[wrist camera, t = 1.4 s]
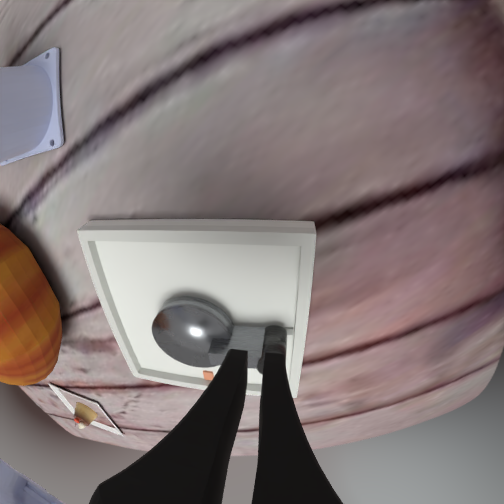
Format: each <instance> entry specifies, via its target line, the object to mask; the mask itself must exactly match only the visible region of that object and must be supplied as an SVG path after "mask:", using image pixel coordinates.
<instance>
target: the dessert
mask: <svg viewBox="0 0 504 504" xmlns="http://www.w3.org/2000/svg"><path fill="white" fill-rule="evenodd" d="M48 384H49V383H48ZM49 386H50V387H51V388H52V390H53V391H54V392H55V393H56V395H57V396H58V397H59V398H60V400H61V401H62V402H63V403H64V404H65V405H66V407H67V408H68V409H69V410H70V411H71V412H72V413H73V415H74V418H75V419H74V421H75V422H77V423H78V426H79V428H80V429H83V428H85V426H88V425H89V424H92V425H94V426H97V427H99V428H102V429H104V430H107V431H110V432H112V433H115V434H118V435H121V436H124V435H123V434H122V432H121V431H120V430H119V429H118V428H117V426H116V425H115V424H114V423H113V422H112V420H111V419H110V418H109V417H108V416H107V414H106V413H105V412H104V410H103V409H102V408H101V407H100V405H99V404H98V403H97V402H95V401H92V400H89V399H87V398H84V397H81V396H79V395H76V394H74V393H72V392H69V391H67V390H64V389H62V388H60V387H57V386H55V385H53V384H49ZM58 389H60V390H62V391H64V392H66V393H69V394H71V395H74V396H76V397H78V398H81V399H83V400H86V401H89V402H91V403H94V404H96V405H97V406H98V407H99V408H100V409H101V411H102V412H103V413H104V414H105V416H106V417H107V418H108V419H109V421H110V422H111V423H112V424H113V425H114V427H115V428H116V429H114V428H112V427H109V426H106V425H103V424H101V423H98V422H95V421H93V420H94V419H95V418H97V417H98V415H97V414H96V413H95V412H94V411H93V410H92V409H91V408H89V407H88V406H86V405H84V404H82V403H79V402H76V407H75V409H74V408H73V407H72V406H71V405H70V403H69V402H68V401H67V400H66V399H65V397H64V396H63V395H62V394H61V392H60V391H59V390H58ZM75 427H76V424H75ZM124 437H125V436H124Z"/></svg>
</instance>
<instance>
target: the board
mask: <svg viewBox="0 0 504 504" xmlns="http://www.w3.org/2000/svg"><path fill="white" fill-rule="evenodd" d="M77 233H78V237H79V240H80V244H81V247H82V251H83V254H84V257H85V260H86V263H87V266H88V269H89V272H90V275H91V278H92V281H93V284H94V287H95V289H96V292H97V295H98V298H99V300H100V303H101V305H102V308H103V310H104V313H105V315H106V318H107V320H108V322H109V325H110V327H111V330H112V332H113V334H114V336H115V339H116V341H117V343H118V345H119V347H120V349H121V352H122V354H123V356H124V358H125V360H126V362H127V364H128V366H129V368H130V370H131V372H132V374H133V376H134V377H138V378H142V379H147V380H151V381H156V382H161V383H166V384H171V385H177V386H183V387H189V388H195V389H201V390H206V388H207V387H208V385H209V384H210V382H211V381H212V379H213V378H214V376H215V374H216V373H217V371H218V370H219V368H220V365H218V366H215V367H209V368H200V367H193V366H189V365H186V364H183V363H181V362H179V361H177V360H175V359H173V358H171V357H170V356H169V355H167V354H166V353H165V352H164V351H163V350H162V349H161V348H160V347H159V346H158V344H157V343H156V341H155V340H154V337H153V334H152V323H153V321H154V319H155V317H156V315H157V314H158V312H159V310H160V308H161V307H162V305H163V304H164V303H165V302H166V301H168V300H170V299H172V298H175V297H179V296H192V297H197V298H201V299H204V300H207V301H209V302H211V303H213V304H215V305H216V306H218V307H219V308H221V309H222V310H223V311H224V312H225V313H226V314H227V315H228V316H229V317H230V319H231V320H232V322H233V324H234V326H245V327H261V328H266V327H267V326H270V325H278V326H281V327H283V328H284V329H285V330H286V331H287V351H286V371H287V377H288V381H289V386H290V390H291V394H292V397H293V398H297V392H298V386H299V380H300V374H301V367H302V360H303V354H304V346H305V339H306V331H307V324H308V315H309V307H310V298H311V289H312V279H313V268H314V257H315V245H316V229H315V224H314V221H291V220H249V219H128V220H90V221H89V222H88V223H86V224H85V225H84V226H82V227H81V228H80V229H78V230H77ZM262 376H263V375H262V374H260V373H259V372H258V370H257V369H253V368H248V379H247V389H246V395H254V396H261V388H262Z"/></svg>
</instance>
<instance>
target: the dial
mask: <svg viewBox="0 0 504 504" xmlns="http://www.w3.org/2000/svg"><path fill="white" fill-rule="evenodd" d="M152 334H153V337H154V340H155V341H156V343H157V344H158V346H159V347H160V348H161V349H162V350H163V351H164V352H165V353H166V354H167V355H169V356H170V357H171V358H173V359H175V360H177V361H179V362H181V363H183V364H186V365H189V366H193V367H200V368H209V367H215V366H218V365H220V366H221V364H222V362H223V360H224V359H225V357H226V354H227V352H228V350H230V349H238V350H246V351H248V368H253V369H257V370H258V372H259V373H260V374H262V375H263V366H264V359H265V352H266V353H278V354H283V355H284V356H285V362H286V351H287V331H286V330H285V329H284V328H283V327H281V326H278V325H270V326H267V327H266V328H261V327H245V326H234V324H233V322H232V320H231V319H230V317H229V316H228V315H227V314H226V313H225V312H224V311H223V310H222V309H221V308H219V307H218V306H216V305H215V304H213V303H211V302H209V301H207V300H204V299H201V298H197V297H192V296H179V297H175V298H172V299H170V300H168V301H166V302H165V303H164V304H163V305H162V307H161V308H160V310H159V312H158V314H157V315H156V317H155V319H154V321H153V323H152Z"/></svg>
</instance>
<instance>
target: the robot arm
mask: <svg viewBox="0 0 504 504" xmlns="http://www.w3.org/2000/svg"><path fill="white" fill-rule="evenodd" d="M49 54H50V55H49ZM53 141H54V143H53ZM63 143H64V137H63V128H62V118H61V106H60V87H59V48H57V47H53V48H51V49H49V50H47V51H45V52H44V53H42V54H40V55H39V56H37V57H35V58H33V59H32V60H30V61H29V62H27V63H25V64H24V65H22V66H12V67H1V68H0V165H1V166H3V165H6V164H9V163H11V162H14V161H17V160H20V159H23V158H26V157H29V156H32V155H35V154H39V153H42V152H45V151H49V150H52V149H56V148H59V147H61V146H62V145H63ZM247 379H248V351H246V350H238V349H230V350H228V352H227V354H226V357H225V359H224V360H223V362H222V364H221V366H220V368H219V370H218V371H217V373H216V374H215V376H214V378H213V379H212V381H211V382H210V384H209V385H208V387H207V388H206V390H205V391H204V392H203V394H202V395H201V397H200V398H199V399H198V401H197V402H196V403H195V404H194V406H193V407H192V408H191V409H190V411H189V412H188V413H187V414H186V415H185V417H184V418H183V419H182V420H181V421H180V422H179V423H178V424H177V425H176V426H175V427H174V428H173V430H172V431H171V432H170V433H169V434H168V435H166V436H165V437H164V438H163V439H162V440H161V441H160V442H159V443H158V444H157V445H156V446H154V447H153V448H152V449H151V450H150V451H149V452H147V453H146V454H145V455H143V456H142V457H141V458H140V459H138V460H137V461H136V462H134V463H133V464H131V465H130V466H129V467H127V468H126V469H124V470H123V471H121V472H120V473H118V474H116V475H114V476H113V477H111V478H109V479H107V480H106V481H104V482H102V483H101V484H99V486H98V487H97V489H96V490H95V492H94V494H93V495H92V498H91V500H90V503H89V504H222V498H223V492H224V486H225V480H226V475H227V469H228V463H229V459H230V455H231V451H232V448H233V444H234V441H235V437H236V433H237V430H238V426H239V423H240V419H241V415H242V411H243V408H244V402H245V396H246V389H247ZM0 504H65V503H64V502H62V501H60V500H59V499H57V498H55V497H54V496H53V495H51V494H49V493H48V492H47V491H46V489H44V488H43V487H41V486H40V485H38V484H37V483H35V482H34V481H33V480H31V479H30V478H28V477H27V476H25V475H24V474H22V473H20V472H18V471H17V470H15V469H14V468H12V467H11V466H10V465H9V464H7V463H6V462H5V461H3V460H2V459H0ZM252 504H343V503H342V502H341V500H340V498H339V497H338V496H337V494H336V492H335V491H334V489H333V488H332V486H331V484H330V483H329V481H328V479H327V478H326V476H325V474H324V472H323V471H322V469H321V467H320V465H319V464H318V461H317V459H316V457H315V455H314V453H313V451H312V449H311V447H310V445H309V442H308V440H307V438H306V435H305V433H304V430H303V428H302V425H301V422H300V420H299V417H298V414H297V411H296V408H295V404H294V401H293V397H292V394H291V390H290V386H289V381H288V377H287V371H286V362H285V356H284V355H283V354H278V353H266V352H265V359H264V366H263V376H262V388H261V399H260V415H259V445H258V465H257V472H256V479H255V485H254V492H253V499H252Z"/></svg>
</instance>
